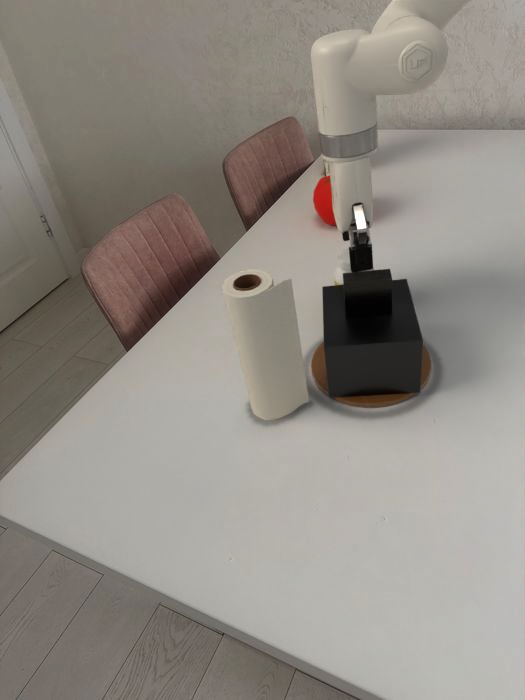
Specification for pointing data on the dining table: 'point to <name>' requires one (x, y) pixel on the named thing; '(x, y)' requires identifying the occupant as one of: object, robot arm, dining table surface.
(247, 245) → the dining table surface
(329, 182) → the tomato
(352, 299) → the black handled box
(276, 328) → the paper towel roll
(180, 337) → the dining table surface
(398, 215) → the dining table surface
